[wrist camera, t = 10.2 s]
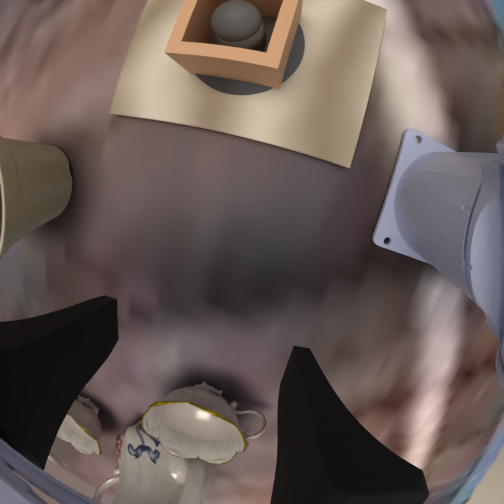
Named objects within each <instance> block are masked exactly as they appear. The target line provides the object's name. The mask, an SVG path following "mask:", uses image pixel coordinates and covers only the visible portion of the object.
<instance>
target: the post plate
mask: <svg viewBox="0 0 504 504" xmlns="http://www.w3.org/2000/svg"><path fill="white" fill-rule="evenodd" d="M184 1H185V0H148V2H147V4H146V7H145V9H144V11H143V13H142V16H141V18H140V20H139V23H138V25H137V28H136V30H135V33H134V35H133V38H132V41H131V43H130V46H129V49H128V52H127V55H126V58H125V61H124V64H123V67H122V70H121V73H120V76H119V79H118V83H117V86H116V90H115V93H114V97H113V101H112V104H111V108H110V112H109V114H113V115H120V116H128V117H136V118H144V119H151V120H157V121H164V122H170V123H176V124H181V125H187V126H192V127H197V128H202V129H207V130H212V131H217V132H221V133H226V134H230V135H235V136H239V137H243V138H247V139H251V140H255V141H259V142H263V143H267V144H270V145H274V146H278V147H281V148H285V149H288V150H292V151H295V152H299V153H302V154H305V155H308V156H312V157H315V158H318V159H321V160H324V161H327V162H330V163H333V164H336V165H339V166H342V167H345V168H350V166H351V162H352V159H353V155H354V152H355V148H356V145H357V141H358V137H359V134H360V130H361V126H362V122H363V118H364V115H365V111H366V107H367V103H368V99H369V94H370V90H371V86H372V82H373V77H374V73H375V68H376V64H377V59H378V54H379V49H380V44H381V39H382V34H383V28H384V23H385V17H386V11H387V9H385V8H382V7H380V6H377V5H374V4H372V3H369V2H366V1H364V0H303V2H302V13H301V18H300V21H299V24H298V28H297V31H296V35H295V38H294V41H293V45H292V48H291V51H290V55H289V58H288V62H287V65H286V69H285V72H284V76H283V79H282V83H281V86H280V89H276V88H272V87H268V86H263V85H259V84H254V83H249V82H244V81H239V80H234V79H228V78H222V77H216V76H209V75H202V74H195V73H189V72H188V71H186V70H185V69H184V68H183V67H182V66H180V65H179V64H178V63H177V62H175V61H174V60H173V59H172V58H170V57H169V56H168V55H167V54H165V53H164V52H165V49H166V47H167V44H168V41H169V38H170V36H171V33H172V30H173V28H174V25H175V23H176V20H177V18H178V15H179V13H180V10H181V8H182V5H183V3H184ZM276 21H277V18H272V17H267V16H261V14H260V12H259V10H258V9H257V8H256V7H255V6H254V5H253V4H251V3H249V2H246V1H243V0H232V1H228V2H225V3H223V4H221V5H220V6H219V7H217V8H216V10H215V11H214V12H213V14H212V17H211V28H212V30H213V32H214V33H213V36H212V39H211V42H210V44H215V45H223V46H230V47H237V48H243V49H249V50H255V51H260V52H265V53H266V52H267V49H268V46H269V42H270V39H271V36H272V33H273V30H274V27H275V24H276Z"/></svg>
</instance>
